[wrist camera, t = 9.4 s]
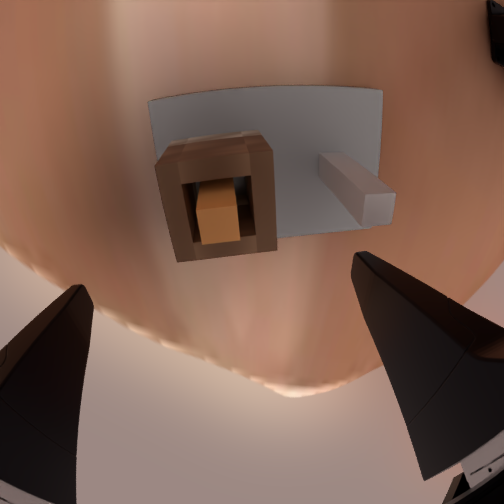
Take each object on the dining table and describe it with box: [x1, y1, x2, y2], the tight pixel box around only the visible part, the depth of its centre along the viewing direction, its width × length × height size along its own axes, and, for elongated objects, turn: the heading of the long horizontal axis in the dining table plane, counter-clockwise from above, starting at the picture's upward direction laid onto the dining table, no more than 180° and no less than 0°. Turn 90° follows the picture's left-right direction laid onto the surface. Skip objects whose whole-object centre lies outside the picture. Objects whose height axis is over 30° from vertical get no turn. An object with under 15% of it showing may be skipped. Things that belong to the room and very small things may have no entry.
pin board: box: [148, 85, 396, 245], centre depth 15 cm, size 14×10×8 cm
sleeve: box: [155, 130, 277, 262], centre depth 15 cm, size 5×5×5 cm
